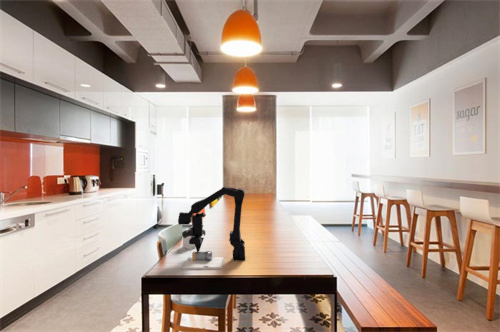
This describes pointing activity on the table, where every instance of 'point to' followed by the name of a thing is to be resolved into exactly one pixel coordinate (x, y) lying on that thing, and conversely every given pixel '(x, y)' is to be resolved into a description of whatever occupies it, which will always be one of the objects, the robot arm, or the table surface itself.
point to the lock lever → (202, 256)
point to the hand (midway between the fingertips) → (198, 251)
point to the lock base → (203, 264)
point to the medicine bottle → (187, 242)
